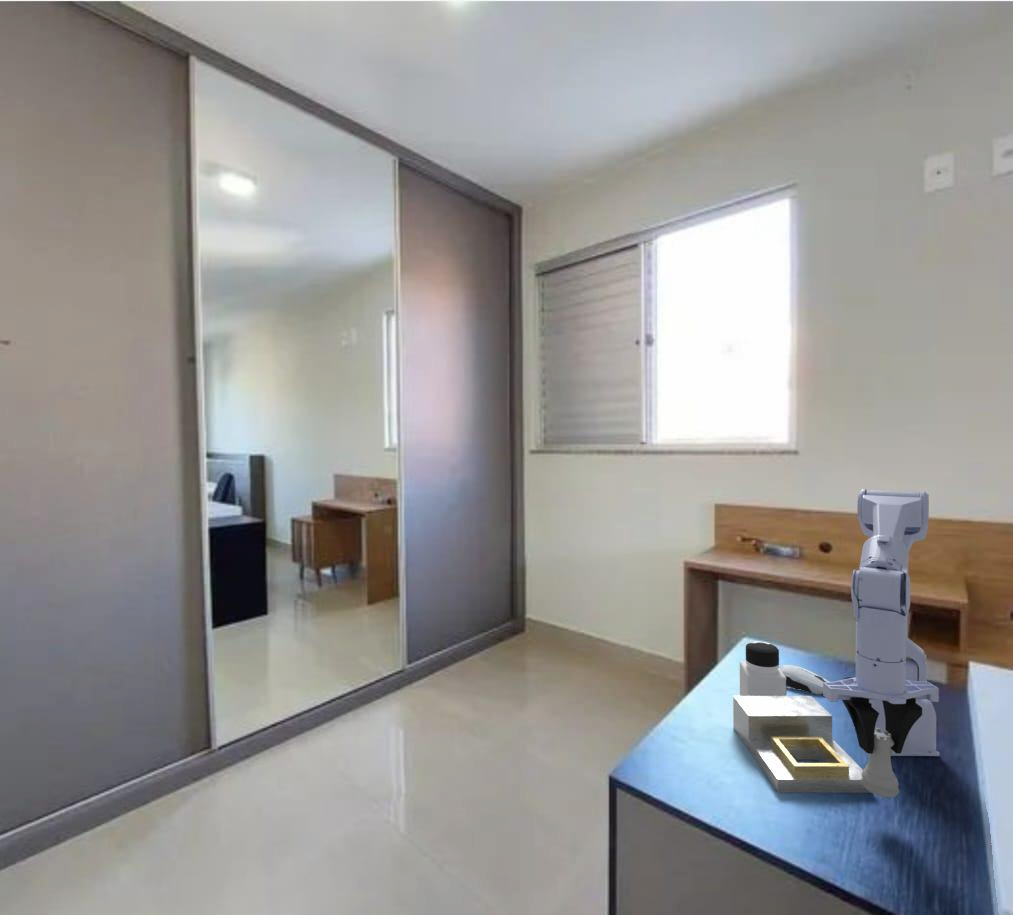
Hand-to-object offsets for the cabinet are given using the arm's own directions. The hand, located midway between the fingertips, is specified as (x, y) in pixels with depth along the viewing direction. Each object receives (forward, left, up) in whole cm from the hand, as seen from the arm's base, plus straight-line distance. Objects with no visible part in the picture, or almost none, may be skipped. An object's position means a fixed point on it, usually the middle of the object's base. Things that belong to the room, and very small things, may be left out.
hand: (879, 749), depth 76 cm
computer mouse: (-11, -39, -10) cm, 42 cm away
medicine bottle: (+3, -32, -10) cm, 34 cm away
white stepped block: (+5, -15, -10) cm, 19 cm away
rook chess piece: (0, 0, -6) cm, 6 cm away
